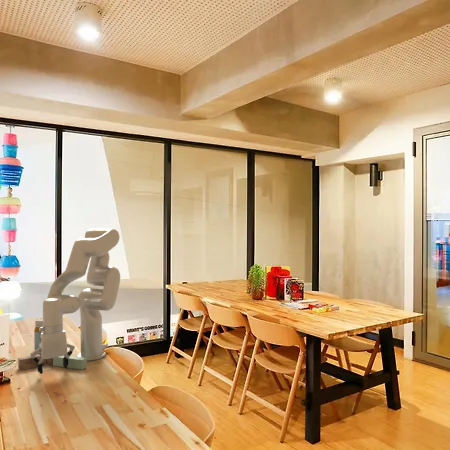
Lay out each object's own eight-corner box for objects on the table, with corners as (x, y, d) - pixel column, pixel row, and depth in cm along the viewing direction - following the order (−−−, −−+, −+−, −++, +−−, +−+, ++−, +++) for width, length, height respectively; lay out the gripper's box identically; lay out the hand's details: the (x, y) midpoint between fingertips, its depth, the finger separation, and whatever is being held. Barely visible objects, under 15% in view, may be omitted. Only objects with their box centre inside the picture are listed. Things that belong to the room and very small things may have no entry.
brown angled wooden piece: (58, 352, 199) (58, 341, 199) (76, 355, 194) (76, 344, 194) (15, 369, 176) (15, 357, 176) (34, 372, 172) (34, 360, 172)
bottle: (45, 347, 207) (45, 317, 207) (52, 349, 202) (52, 319, 202) (31, 350, 202) (31, 319, 201) (38, 353, 197) (38, 322, 197)
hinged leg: (51, 365, 179) (51, 354, 179) (56, 363, 182) (56, 352, 182) (82, 369, 174) (82, 358, 174) (86, 367, 177) (86, 356, 177)
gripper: (32, 334, 161) (32, 377, 161) (77, 327, 172) (77, 368, 172) (27, 330, 167) (28, 372, 167) (71, 323, 178) (71, 363, 178)
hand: (53, 370), depth 170 cm, fingers open, 9 cm apart
